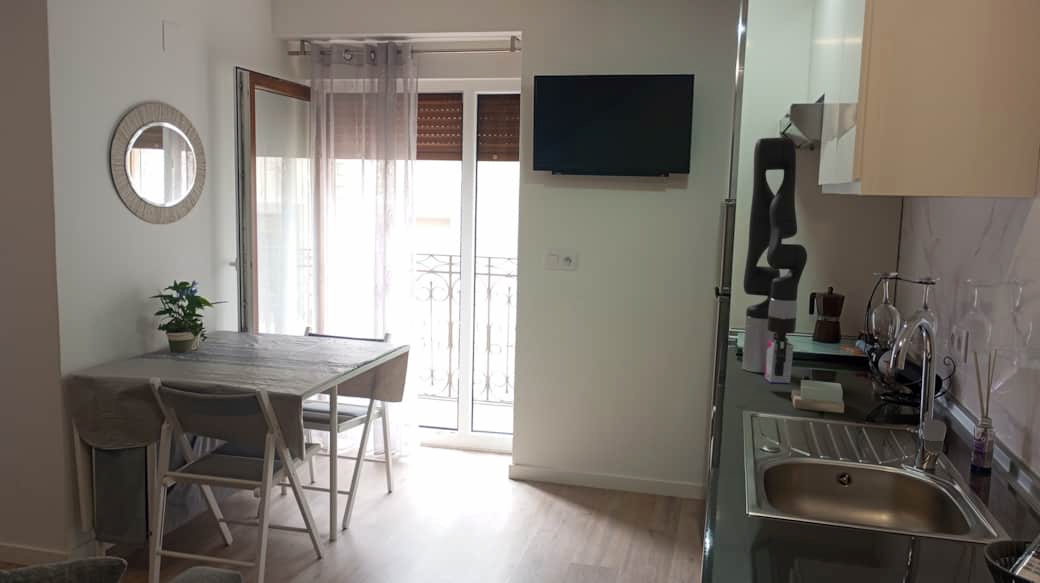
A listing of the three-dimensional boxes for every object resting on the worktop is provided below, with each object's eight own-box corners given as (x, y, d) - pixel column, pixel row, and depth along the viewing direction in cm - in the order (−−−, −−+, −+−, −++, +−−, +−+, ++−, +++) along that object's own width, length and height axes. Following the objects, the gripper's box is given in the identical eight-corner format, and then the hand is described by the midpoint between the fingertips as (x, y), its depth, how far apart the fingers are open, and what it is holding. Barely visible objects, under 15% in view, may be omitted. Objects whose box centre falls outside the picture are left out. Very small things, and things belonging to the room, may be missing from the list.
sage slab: (800, 390, 214) (801, 379, 214) (839, 394, 211) (840, 383, 211) (800, 398, 205) (801, 387, 204) (841, 403, 202) (842, 391, 201)
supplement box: (790, 385, 219) (794, 345, 217) (769, 384, 219) (772, 344, 217) (784, 379, 224) (787, 340, 223) (763, 379, 225) (766, 340, 223)
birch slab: (791, 399, 216) (791, 388, 215) (837, 403, 213) (838, 393, 212) (794, 410, 204) (795, 399, 204) (843, 415, 201) (844, 403, 201)
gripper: (766, 310, 227) (762, 366, 229) (769, 318, 213) (765, 377, 215) (794, 311, 225) (789, 368, 227) (798, 320, 211) (793, 380, 213)
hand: (777, 372), depth 221 cm, fingers closed on supplement box, 6 cm apart
